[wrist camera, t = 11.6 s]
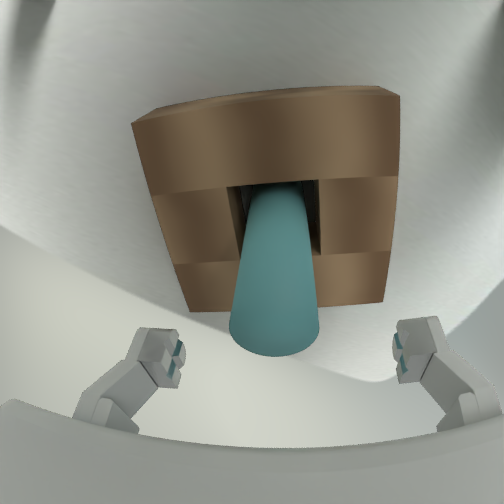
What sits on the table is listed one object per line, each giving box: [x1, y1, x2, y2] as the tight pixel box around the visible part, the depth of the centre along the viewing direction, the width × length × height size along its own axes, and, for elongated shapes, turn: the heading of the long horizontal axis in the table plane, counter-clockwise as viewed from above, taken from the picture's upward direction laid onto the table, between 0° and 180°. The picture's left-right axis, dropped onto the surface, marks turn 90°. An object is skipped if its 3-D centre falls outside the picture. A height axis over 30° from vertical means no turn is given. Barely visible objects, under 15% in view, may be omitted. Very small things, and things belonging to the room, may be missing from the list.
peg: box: [229, 181, 319, 357], centre depth 17 cm, size 3×3×12 cm
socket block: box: [131, 86, 400, 312], centre depth 20 cm, size 14×14×4 cm
